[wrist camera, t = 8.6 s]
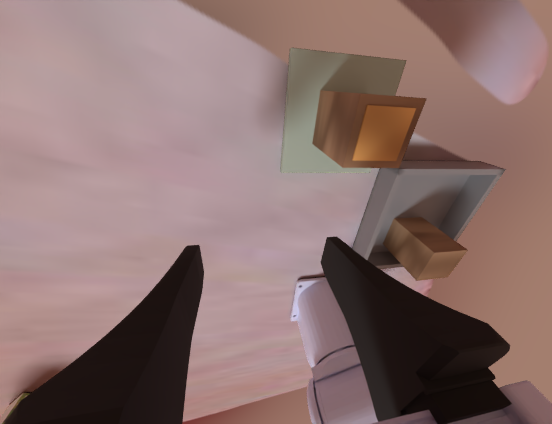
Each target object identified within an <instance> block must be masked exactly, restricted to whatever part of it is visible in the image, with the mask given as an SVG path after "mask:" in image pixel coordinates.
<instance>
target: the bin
mask: <svg viewBox="0 0 552 424" xmlns="http://www.w3.org/2000/svg"><path fill="white" fill-rule="evenodd" d="M504 171H505V169H503V168H500V167H497V166H494V165H491V164H487V163H484V162H481V161H408V160H402V162H401V164H400V167H399V168H380V169H379V172H378V175H377V178H376V181H375V184H374V187H373V190H372V192H371V195H370V198H369V201H368V204H367V207H366V210H365V213H364V216H363V218H362V221H361V224H360V227H359V230H358V233H357V236H356V239H355V241H354V244H353V247H352V249H353V250H354V251H356V252H357V253H358V254H360V255H361V256H362V257H364V258H365V259H366V260H367V261H369V262H370V263H372V264H373V265H374V266H376V267H377V268H379V269H385V268H395V267H404V266H403V265H402V264H401V263H400V262H399V261H398V260H397V259H396V258H395V257H394V256H393V255H392V253H391V252H390V251H389V250H388V249H387V248H386V247H385V246H384V245H383V242H384V240H385V237H386V235H387V233H388V231H389V228H390V226H391V224H392V222H393V219H394V218H416V217H422V218H424V219H425V220H427V221H428V222H429V223H431V224H432V225H434V226H435V227H436V228H438V229H439V230H441V231H442V232H443V233H445V234H446V235H448V236H449V237H450V238H452V239H453V240H455V241H457V239H458V238H459V237H460V235H461V234H462V232H463V231H464V229H465V228H466V226H467V225H468V223H469V222H470V220H471V219H472V218H473V216H474V215H475V213H476V212H477V210H478V209H479V207H480V206H481V205H482V203H483V202H484V200H485V198H486V197H487V196H488V194H489V193H490V191H491V190H492V189H493V187H494V186H495V184H496V183H497V181H498V180H499V178H500V177H501V175H502V174H503V172H504Z"/></svg>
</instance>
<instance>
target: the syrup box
mask: <svg viewBox="0 0 552 424" xmlns="http://www.w3.org/2000/svg"><path fill="white" fill-rule="evenodd" d="M29 394H31V393H22V394H21V395H20V396H19V397H18V398H17V399H16V400H15V401H13V402H12V403H11V404H10V405H9V406H8V407H7V408H6V410H5V411H4V413H3V414H2V415H1V417H0V424H4V423H5V422H6V420H7V419H8V417H9V416H10V414H11V413H12V412H13V410H14V409H15V408H16V406H17V405H18V404H19V402H20V401H21V400H22V399H24V398H25V397H26V396H28V395H29Z"/></svg>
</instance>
